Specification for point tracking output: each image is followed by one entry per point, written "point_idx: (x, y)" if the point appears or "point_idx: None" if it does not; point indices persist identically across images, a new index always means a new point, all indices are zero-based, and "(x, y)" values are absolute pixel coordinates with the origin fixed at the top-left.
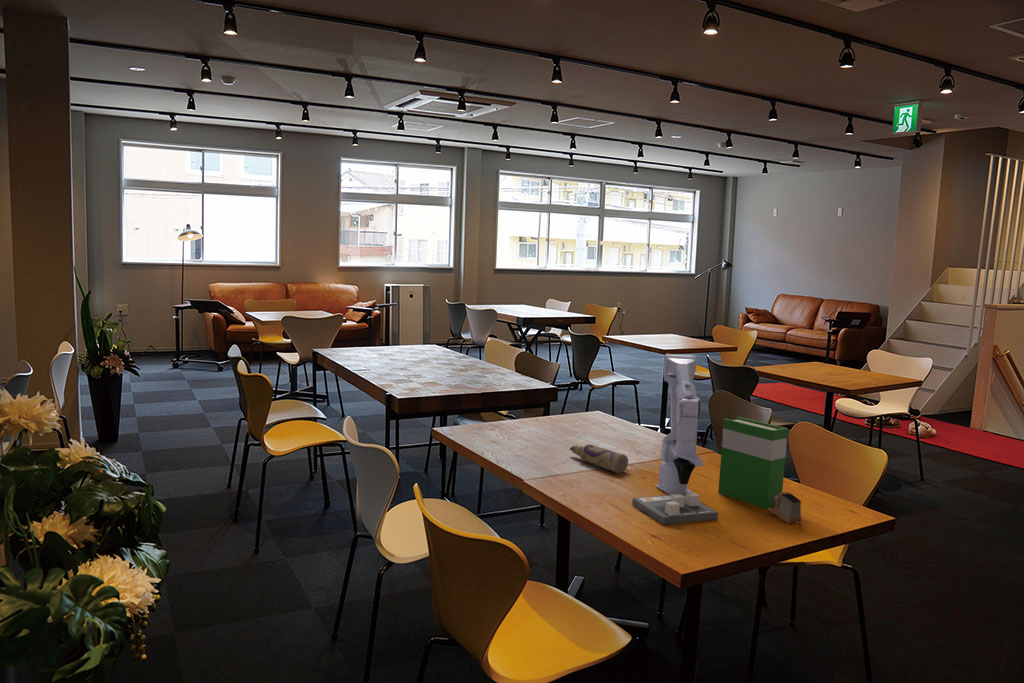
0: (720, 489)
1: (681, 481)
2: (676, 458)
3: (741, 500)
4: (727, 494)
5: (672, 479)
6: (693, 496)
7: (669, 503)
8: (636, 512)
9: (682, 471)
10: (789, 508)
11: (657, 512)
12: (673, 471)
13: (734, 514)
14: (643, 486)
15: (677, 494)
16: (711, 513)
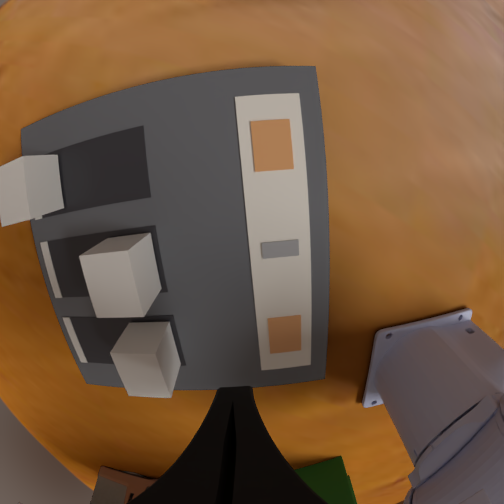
0: (337, 467)
1: (215, 399)
2: (465, 462)
3: None
4: (310, 469)
5: (422, 377)
6: (116, 366)
7: (6, 171)
8: (187, 52)
9: (174, 464)
10: (97, 492)
11: (69, 118)
12: (439, 405)
13: (148, 428)
14: (486, 262)
15: (139, 298)
16: (75, 359)
